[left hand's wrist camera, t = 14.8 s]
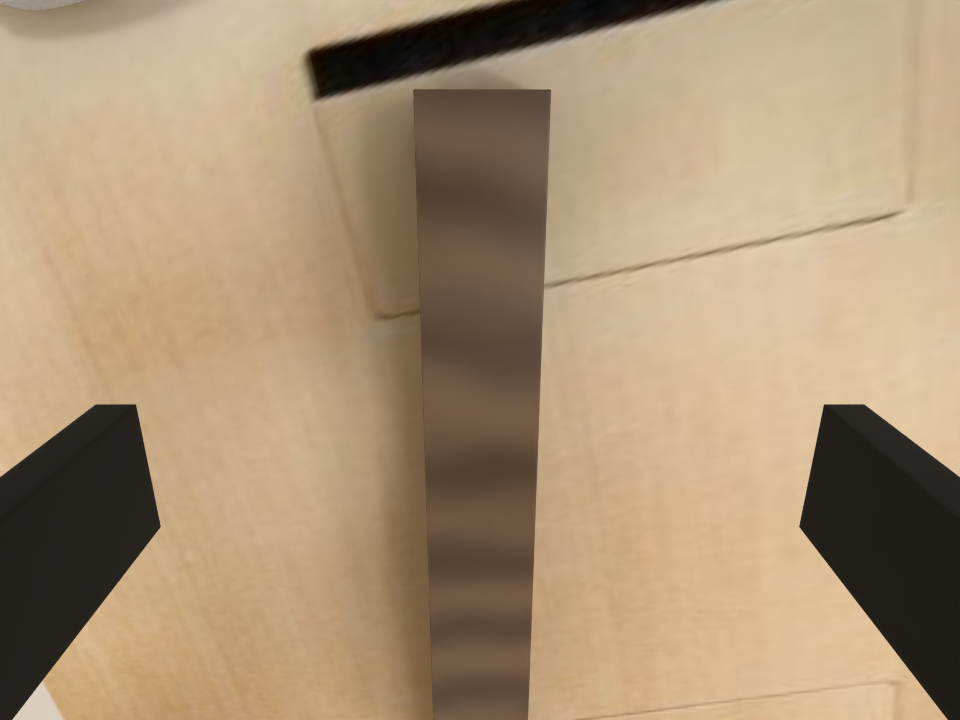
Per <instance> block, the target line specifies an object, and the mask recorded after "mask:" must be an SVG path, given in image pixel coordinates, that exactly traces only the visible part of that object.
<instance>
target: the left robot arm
mask: <svg viewBox="0 0 960 720" xmlns="http://www.w3.org/2000/svg"><path fill="white" fill-rule="evenodd" d="M160 527H161V526H160V521H159V516H158V511H157V506H156V501H155V496H154V491H153V487H152V482H151V477H150V472H149V467H148V462H147V457H146V452H145V447H144V442H143V437H142V432H141V427H140V422H139V417H138V412H137V407H136V405H95V406H93V407H92V408H91V409H89V410H88V411H87V412H85V413H84V414H83V415H81V416H80V417H79V418H77V419H76V420H75V421H73V422H72V423H71V424H70V425H68V426H67V427H66V428H64V429H63V430H62V431H60V432H59V433H58V434H56V435H55V436H54V437H52V438H51V439H50V440H49V441H47V442H46V443H45V444H43V445H42V446H41V447H39V448H38V449H37V450H35V451H34V452H33V453H31V454H30V455H29V456H27V457H26V458H25V459H24V460H22V461H21V462H20V463H18V464H17V465H16V466H14V467H13V468H12V469H10V470H9V471H8V472H6V473H5V474H4V475H3V476H1V477H0V720H12V719H13V718H14V717H15V715H16V714H17V713H18V711H19V710H20V709H21V708H22V706H23V705H24V704H25V702H26V701H27V700H28V699H29V697H30V696H31V695H32V693H33V692H34V691H35V689H36V688H37V687H38V686H39V684H40V683H41V682H42V680H43V679H44V678H45V676H46V675H47V674H48V673H49V671H50V670H51V669H52V667H53V666H54V665H55V663H56V662H57V661H58V660H59V658H60V657H61V656H62V654H63V653H64V652H65V650H66V649H67V648H68V647H69V645H70V644H71V643H72V641H73V640H74V639H75V637H76V636H77V635H78V634H79V632H80V631H81V630H82V628H83V627H84V626H85V624H86V623H87V622H88V621H89V619H90V618H91V617H92V615H93V614H94V613H95V611H96V610H97V609H98V608H99V606H100V605H101V604H102V602H103V601H104V600H105V599H106V597H107V596H108V595H109V593H110V592H111V591H112V589H113V588H114V587H115V586H116V584H117V583H118V582H119V580H120V579H121V578H122V576H123V575H124V574H125V573H126V571H127V570H128V569H129V567H130V566H131V565H132V563H133V562H134V561H135V560H136V558H137V557H138V556H139V554H140V553H141V552H142V550H143V549H144V548H145V547H146V545H147V544H148V543H149V541H150V540H151V539H152V537H153V536H154V535H155V534H156V532H157V531H158V530H159V528H160ZM799 527H800V528H801V530H802V531H803V532H804V534H805V535H806V536H807V537H808V539H809V540H810V541H811V543H812V544H813V545H814V547H815V548H816V549H817V550H818V552H819V553H820V554H821V556H822V557H823V558H824V560H825V561H826V562H827V563H828V565H829V566H830V567H831V569H832V570H833V571H834V573H835V574H836V575H837V576H838V578H839V579H840V580H841V582H842V583H843V584H844V586H845V587H846V588H847V589H848V591H849V592H850V593H851V595H852V596H853V597H854V599H855V600H856V601H857V602H858V604H859V605H860V606H861V608H862V609H863V610H864V612H865V613H866V614H867V615H868V617H869V618H870V619H871V621H872V622H873V623H874V624H875V626H876V627H877V628H878V630H879V631H880V632H881V634H882V635H883V636H884V637H885V639H886V640H887V641H888V643H889V644H890V645H891V647H892V648H893V649H894V650H895V652H896V653H897V654H898V656H899V657H900V658H901V660H902V661H903V662H904V663H905V665H906V666H907V667H908V669H909V670H910V671H911V673H912V674H913V675H914V676H915V678H916V679H917V680H918V682H919V683H920V684H921V686H922V687H923V688H924V689H925V691H926V692H927V693H928V695H929V696H930V697H931V699H932V700H933V701H934V702H935V704H936V705H937V706H938V708H939V709H940V710H941V711H942V713H943V714H944V715H945V717H946V718H947V719H948V720H960V477H959V476H957V475H956V474H955V473H954V472H952V471H951V470H950V469H948V468H947V467H946V466H944V465H943V464H942V463H940V462H939V461H938V460H936V459H935V458H934V457H933V456H931V455H930V454H929V453H927V452H926V451H925V450H923V449H922V448H921V447H919V446H918V445H917V444H915V443H914V442H913V441H911V440H910V439H909V438H908V437H906V436H905V435H904V434H902V433H901V432H900V431H898V430H897V429H896V428H894V427H893V426H892V425H890V424H889V423H888V422H887V421H885V420H884V419H883V418H881V417H880V416H879V415H877V414H876V413H875V412H873V411H872V410H871V409H869V408H868V407H867V406H865V405H824V407H823V412H822V417H821V422H820V427H819V432H818V437H817V442H816V447H815V452H814V457H813V462H812V467H811V472H810V477H809V482H808V486H807V491H806V496H805V501H804V506H803V511H802V516H801V521H800V526H799Z"/></svg>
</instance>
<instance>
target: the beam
mask: <svg viewBox="0 0 960 720" xmlns="http://www.w3.org/2000/svg"><path fill="white" fill-rule="evenodd" d="M413 97H414V128H415V160H416V191H417V222H418V254H419V285H420V317H421V348H422V380H423V411H424V443H425V474H426V506H427V537H428V568H429V600H430V631H431V663H432V694H433V720H528V703H529V676H530V649H531V621H532V594H533V567H534V539H535V512H536V485H537V458H538V430H539V403H540V376H541V348H542V321H543V294H544V267H545V239H546V212H547V185H548V158H549V130H550V103H551V90H449V89H414V90H413Z"/></svg>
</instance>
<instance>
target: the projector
mask: <svg viewBox="0 0 960 720" xmlns="http://www.w3.org/2000/svg"><path fill="white" fill-rule="evenodd" d="M83 1H86V0H0V4H2V5H6V6H9V7H13V8H18V9H24V10H47V9H54V8H60V7H64V6H68V5H72V4H76V3H79V2H83Z"/></svg>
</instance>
